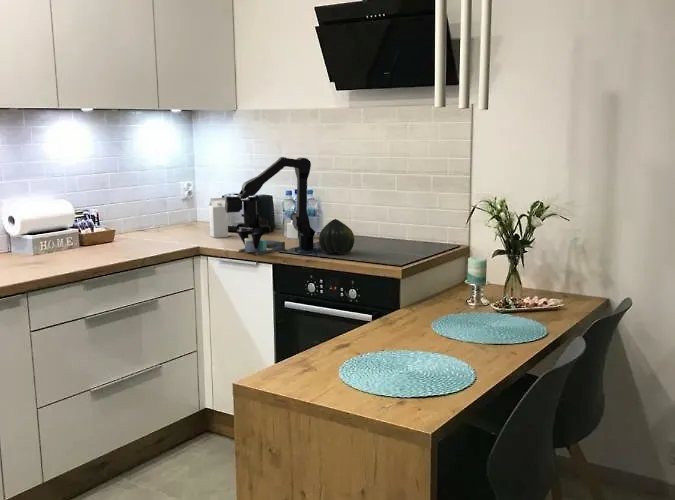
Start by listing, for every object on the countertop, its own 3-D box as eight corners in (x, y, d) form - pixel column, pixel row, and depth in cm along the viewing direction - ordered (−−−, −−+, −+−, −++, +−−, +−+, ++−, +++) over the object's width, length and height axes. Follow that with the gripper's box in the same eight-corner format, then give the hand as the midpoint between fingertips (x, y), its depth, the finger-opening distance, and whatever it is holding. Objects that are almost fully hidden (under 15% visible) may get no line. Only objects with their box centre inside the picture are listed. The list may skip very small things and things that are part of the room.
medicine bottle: (298, 239, 352) (297, 214, 350) (286, 238, 356) (286, 213, 354) (307, 237, 357) (307, 212, 355) (296, 236, 361) (295, 211, 359)
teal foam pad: (253, 249, 322) (252, 238, 322) (266, 251, 317) (266, 240, 316) (249, 250, 321) (249, 238, 320) (263, 252, 315) (263, 240, 314)
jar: (249, 252, 312) (248, 239, 311) (242, 250, 316) (241, 238, 315) (261, 250, 315) (260, 238, 314) (253, 249, 320) (253, 236, 319)
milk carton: (210, 236, 364) (208, 197, 360) (224, 235, 367) (222, 197, 363) (213, 238, 357) (212, 199, 354) (228, 237, 360) (226, 198, 357)
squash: (339, 244, 300) (350, 214, 307) (308, 243, 308) (320, 214, 315) (353, 263, 311) (363, 234, 317) (323, 261, 318) (334, 233, 325)
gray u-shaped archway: (266, 246, 330) (266, 239, 330) (284, 249, 322) (284, 241, 322) (238, 251, 318) (238, 243, 318) (257, 254, 311) (257, 246, 310)
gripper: (279, 211, 313) (280, 247, 315) (249, 208, 325) (251, 243, 328) (259, 213, 304) (260, 251, 307) (230, 210, 317) (231, 246, 319)
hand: (251, 247), depth 316 cm, fingers closed on jar, 6 cm apart
